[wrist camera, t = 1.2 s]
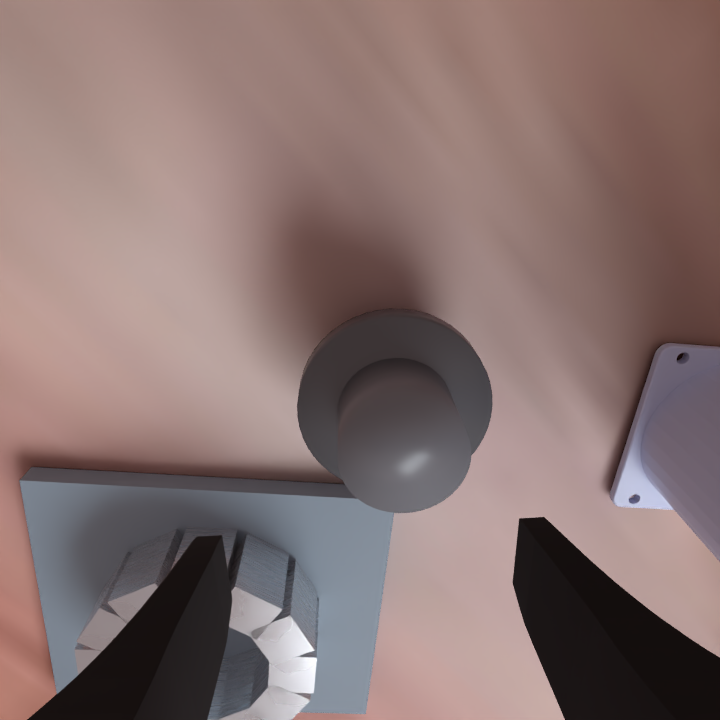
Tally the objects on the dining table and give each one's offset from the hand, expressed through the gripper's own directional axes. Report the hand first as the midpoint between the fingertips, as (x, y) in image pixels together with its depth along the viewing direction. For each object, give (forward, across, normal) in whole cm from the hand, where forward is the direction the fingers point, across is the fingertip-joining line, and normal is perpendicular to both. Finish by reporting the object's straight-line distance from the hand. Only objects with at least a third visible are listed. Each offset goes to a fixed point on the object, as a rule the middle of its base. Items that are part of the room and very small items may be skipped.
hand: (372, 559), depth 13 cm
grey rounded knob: (+10, -1, 0) cm, 11 cm away
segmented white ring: (+11, +7, +12) cm, 17 cm away
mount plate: (+11, +7, +12) cm, 17 cm away
